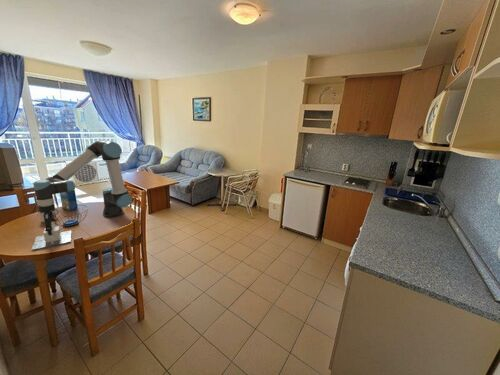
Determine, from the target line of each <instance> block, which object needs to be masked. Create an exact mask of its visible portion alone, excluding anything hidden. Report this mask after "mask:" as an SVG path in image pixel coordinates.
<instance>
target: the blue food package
mask: <svg viewBox="0 0 500 375" xmlns="http://www.w3.org/2000/svg"><path fill="white" fill-rule="evenodd" d="M59 197H60V202H61V206H62V209H64V210H66V211H70V212H72V211H75V210H78V209H79V208H78V202H77V196H76V189H75V190H73V191H69V192H63V193H59Z"/></svg>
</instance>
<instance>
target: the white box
mask: <svg viewBox="0 0 500 375" xmlns="http://www.w3.org/2000/svg"><path fill="white" fill-rule="evenodd" d="M49 229H50V228H49ZM60 229H61V228H60V226H59V225H58V226H55V227H52V230H53V235H54V239H51V240H48V236H47V231H45V230H46V228H44V230H43V235H44V238H45V243H47V242H52V241H57V240H60V237H61V234H60V232H61V231H60Z"/></svg>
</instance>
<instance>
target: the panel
mask: <svg viewBox="0 0 500 375" xmlns="http://www.w3.org/2000/svg"><path fill="white" fill-rule="evenodd" d="M60 234H61V237H60V240H57V241H52V242H47V243H45V238H44V234H43V235H38V236H36V237H35V240H34V242H33V245H32V247H31V251H32V250H34V251H39V250H43V248H44V249H47V248H48V247H49V248H53V247H58V246H62V244H63V245H68V244H72V230H66V231H62V232H61V231H60ZM67 243H68V244H67ZM57 245H58V246H57ZM52 246H53V247H52ZM38 249H39V250H38Z"/></svg>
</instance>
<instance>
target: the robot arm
mask: <svg viewBox="0 0 500 375" xmlns="http://www.w3.org/2000/svg"><path fill="white" fill-rule="evenodd" d="M121 154H122V148H121V145H120V144H118V143H117V142H115V141H113V140H104V139H100V140H97V141H95V142H93V143H92V144H90V145H89V146H87V147H86V148H85V150H84V152H82V153H81V154H80V155H78V156H77V157H76V158H75V159H73V160H72V161H71V162H70V163H68V164H67V165H66V166H64V167H63V168H62V169H60V170H59V171H57V172H56V173H55V174H54V175H52V176H48V177H47V178H45V179H41V180H35V181H34V182H33V190H34V194H35V198H36V200H35V202H36V204H37V207H38V212H39V213H40V212H44V214H43V216H44V220H45V222H44V226H45V228H46V230H45V231H47V236H48V240H51V239H54V235H53V230H52V227H56V220H57V219H56V220H55V219H54V216H53V212H52V211H53V210H55V209H56V207H55V200H54V195H56V194H60V193H63V192H69V191H73V190H75V191H76V184H75V182H74V180H72V179H71V178H72V177H74V176H75V175H76V174H77V173H78V172H80V171H81V170H83V168H85V167H86V166H87V165H89V164H90V163H91V162H92V161H93V160H95V159H98V158H100V157H101V158H102V161H104V162H105V166H106V168H107V173H108V176H109V177H108V178H109V181H110V185H111V187H110V188H105V189H104V190H102V196H103V197H102V198H103V206H104V208H103V211H102V215H103V217H105V218H115V217H119V216H121V215H123V214H124V208H126V207H129V206H130V205H131V203H132V200H133V198H132V196H131V195H130V194H129V191H128V189H127V188H126V186H125V183H124V179H123V173H122V170H121V165H120V159H121ZM55 211H56V210H55ZM45 228H44V229H45ZM49 228H50V229H49Z"/></svg>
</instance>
